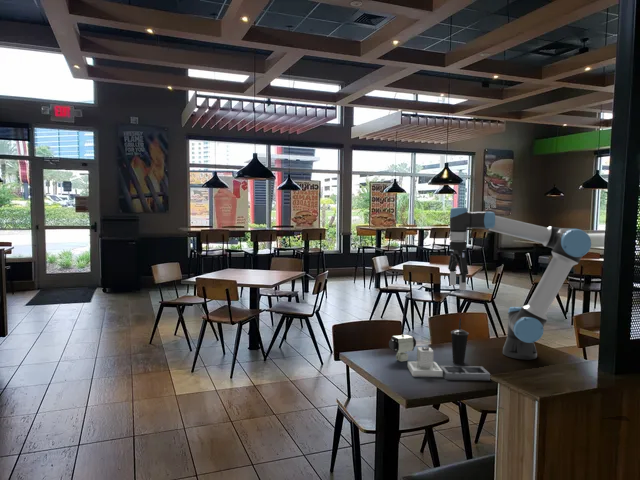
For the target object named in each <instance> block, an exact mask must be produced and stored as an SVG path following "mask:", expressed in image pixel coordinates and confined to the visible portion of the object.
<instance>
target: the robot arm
mask: <svg viewBox="0 0 640 480" xmlns="http://www.w3.org/2000/svg"><path fill="white" fill-rule="evenodd" d="M449 211H450V213H449V233H448V236H449V241H450V242H449V250H450V255H449V256H450V257H449V261H448V267H447V269H448V270H449V286H457V268H458V269H459V275H458V276H459V289H458V290H459V291H467V275H469V268H468V262H467V261H468V260H467V253H466V252H464V251H466V250H467V249H468V247H467V246H468V242H467V240H468V229H483V230H486V231H490V232H495V233H499V234H502V235H506V236H511V237H515V238H519V239H523V240H526V241H532V242H536V243H538V244H542V246H543V247H547V248H551V249H552V250H551V255H552V258H551V260H550V262H549V263H548V264H547V267H546V269H545V271H544V273H543V274H542V277H541V278H540V280H539V282H538V284H537V286H536V288H535V289H534V292H533V293H532V295H531V297H530V299H529V300H528V303H527V304H526V305H525V304H524V305H522V306H510V307H509V308H508V312H507V330H506V331H507V332H506V333H507V334H506V340H505V342H504V345H503V347H502V355H504V356H506V357H507V358H512V359H516V360H525V361H526V360H527V361H528V360H535V359H537V358H538V351H537V348H536V344H535V342H537V341H540V339H541V338H542V337H543V335H544V330H545V329H544V327H545V325H546V323H547V321H548V316H547V314H548V311H549V309H550V308H551V306H552V305H553V302H554V301H555V299H556V297H557V295H558V293H559V291H560V290H561V288H562V287H563V284H564V282H566V281H565V280H566V279H567V277H568V276H569V273H570V271H571V270H572V268H573V266H576V265H578V264H580V262H581V259H582V258H583V256H585V255H587V253H589V252H590V250H591V247H592V240H591V239H592V238H591V237H590V235H589V234H588V233H587V232H586V231H584V230H583V229H579V228H576V227H575V228H572V227H571V228H570V227H556V226H551V225H549V226H548V227H547V226H542V225H538V224H533V223H528V222H524V221H522V220H521V221H520V220H515V219H513V218H509V217H508V218H507V217H503V216H499V215H496V213H495V212H494V211H468V208H467V207H466V206H464V207H463V206H462V207H452V208H450V210H449ZM457 266H458V267H457Z"/></svg>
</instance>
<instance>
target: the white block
mask: <svg viewBox="0 0 640 480" xmlns="http://www.w3.org/2000/svg"><path fill="white" fill-rule="evenodd" d="M416 362H417V370H433V362H434V350H433V349H432V348H431V347H428V346H422V347H419V346H418V347H416Z"/></svg>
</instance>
